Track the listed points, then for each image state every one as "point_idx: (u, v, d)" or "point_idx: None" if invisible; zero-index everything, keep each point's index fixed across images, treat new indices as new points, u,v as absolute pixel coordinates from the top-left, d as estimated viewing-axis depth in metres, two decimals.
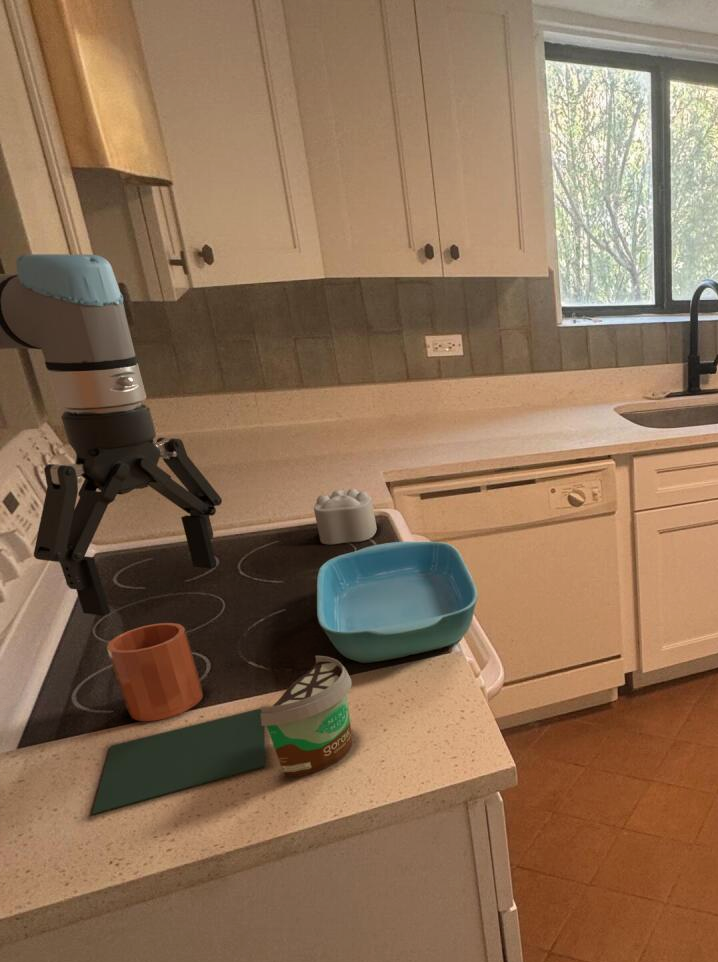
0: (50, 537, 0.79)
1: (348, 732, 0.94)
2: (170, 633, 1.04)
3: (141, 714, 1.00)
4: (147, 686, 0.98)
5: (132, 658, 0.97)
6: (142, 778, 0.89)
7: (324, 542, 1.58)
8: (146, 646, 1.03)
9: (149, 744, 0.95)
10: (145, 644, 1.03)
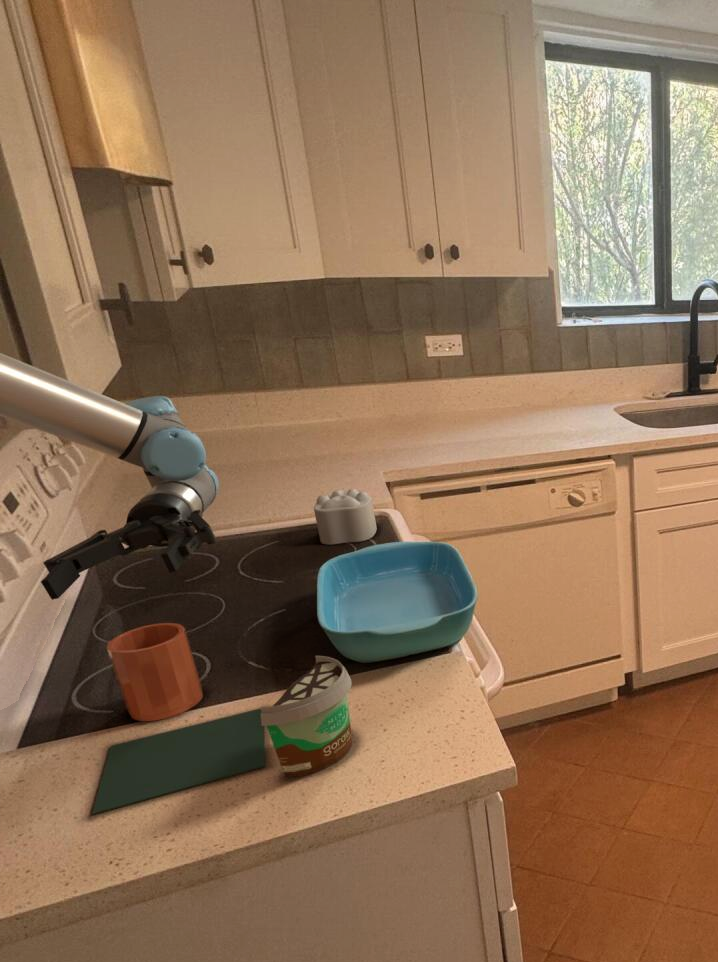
0: None
1: (348, 732, 0.94)
2: (170, 633, 1.04)
3: (141, 714, 1.00)
4: (147, 686, 0.98)
5: (132, 658, 0.97)
6: (142, 778, 0.89)
7: (324, 542, 1.58)
8: (146, 646, 1.03)
9: (149, 744, 0.95)
10: (145, 644, 1.03)
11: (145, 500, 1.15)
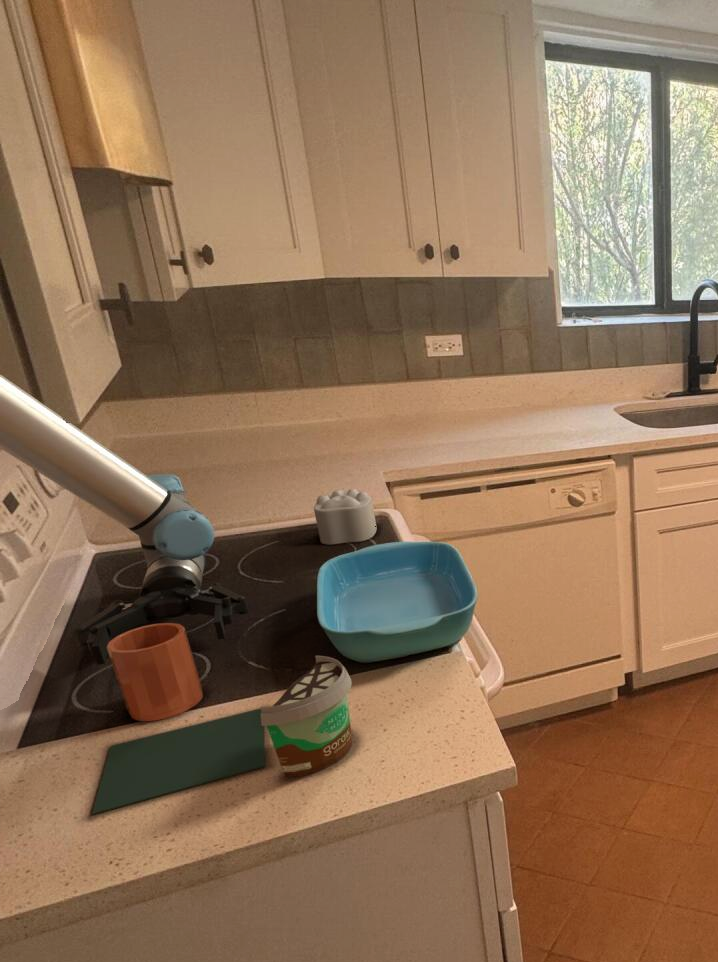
0: None
1: (348, 732, 0.94)
2: (170, 633, 1.04)
3: (141, 714, 1.00)
4: (147, 686, 0.98)
5: (132, 658, 0.97)
6: (142, 778, 0.89)
7: (324, 542, 1.58)
8: (146, 646, 1.03)
9: (149, 744, 0.95)
10: (145, 644, 1.03)
11: (163, 572, 1.20)
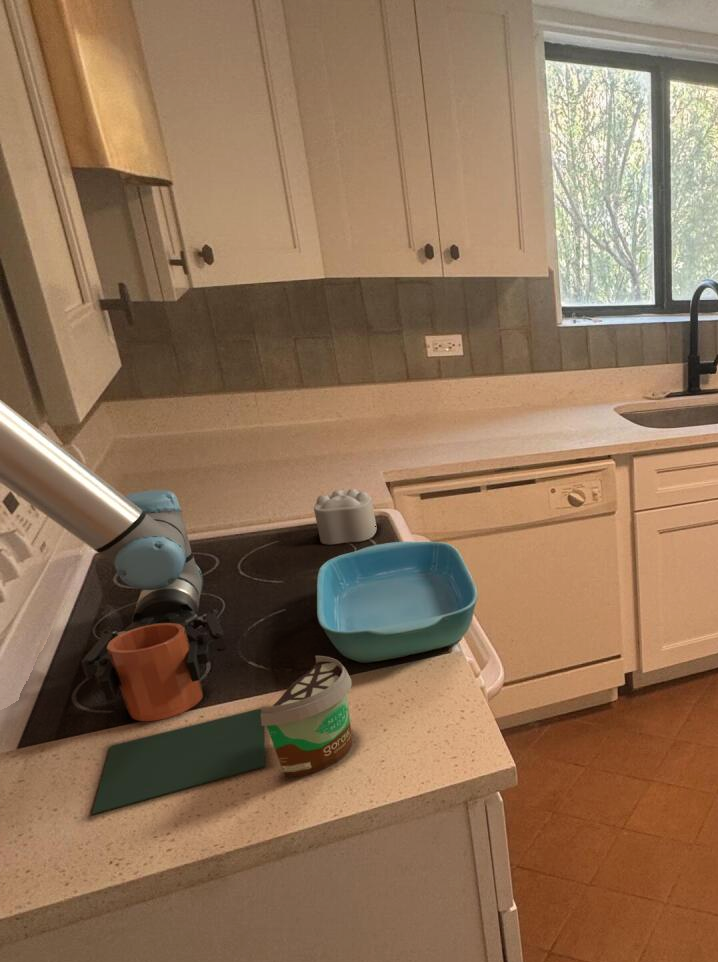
0: None
1: (348, 732, 0.94)
2: (170, 633, 1.04)
3: (141, 714, 1.00)
4: (147, 686, 0.98)
5: (132, 658, 0.97)
6: (142, 778, 0.89)
7: (324, 542, 1.58)
8: (146, 646, 1.03)
9: (149, 744, 0.95)
10: (145, 644, 1.03)
11: (157, 596, 1.12)
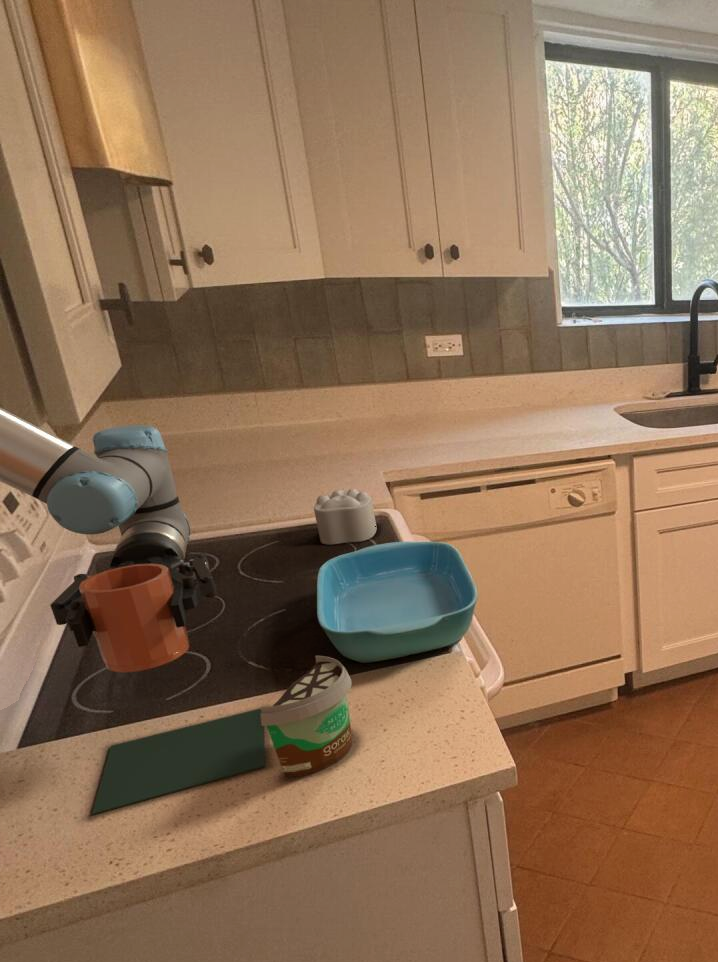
0: None
1: (348, 732, 0.94)
2: (152, 575, 0.92)
3: (119, 664, 0.88)
4: (125, 632, 0.87)
5: (108, 599, 0.85)
6: (142, 778, 0.89)
7: (324, 542, 1.58)
8: None
9: (149, 744, 0.95)
10: (123, 588, 0.91)
11: (138, 539, 1.00)
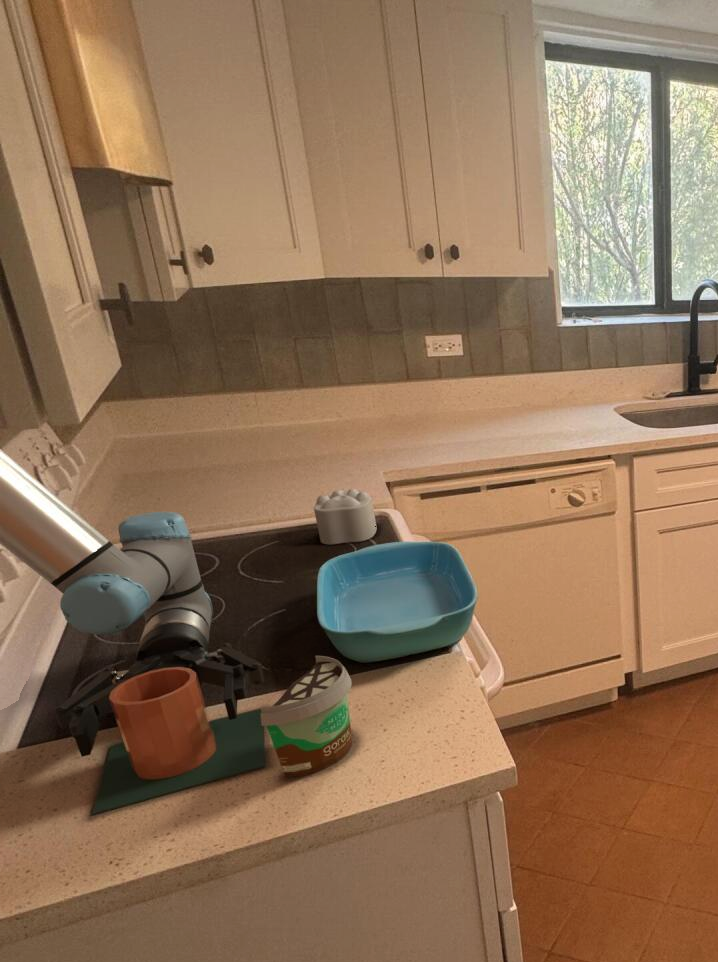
0: None
1: (348, 732, 0.94)
2: (180, 678, 0.93)
3: (148, 772, 0.88)
4: (154, 741, 0.87)
5: (138, 710, 0.86)
6: (142, 778, 0.89)
7: (324, 542, 1.58)
8: (153, 693, 0.92)
9: None
10: (151, 692, 0.92)
11: (163, 632, 1.01)
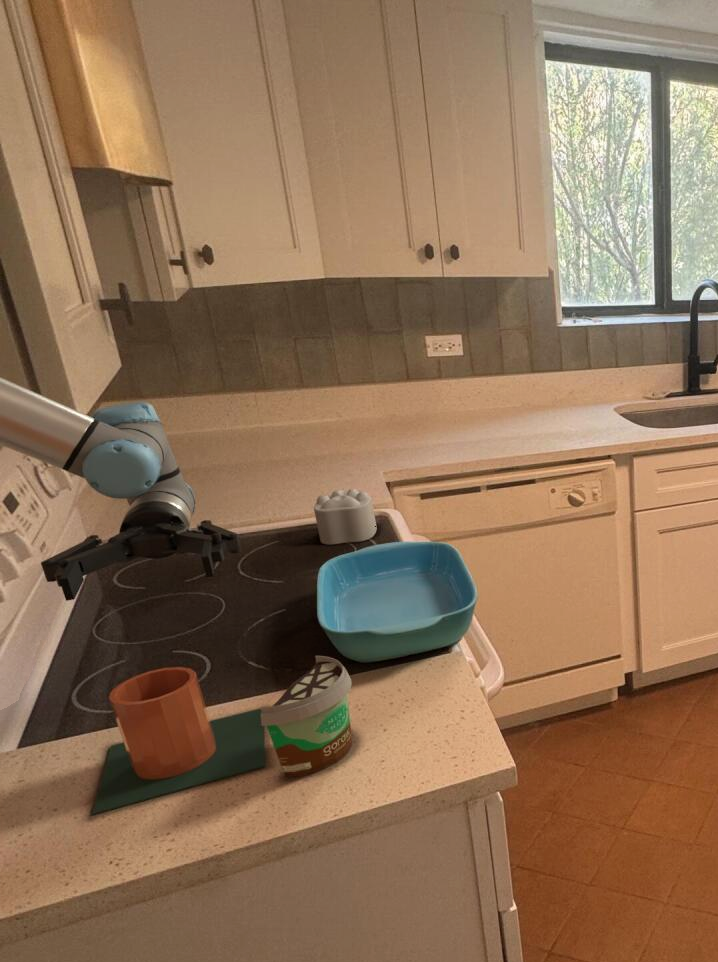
0: None
1: (348, 732, 0.94)
2: (180, 678, 0.93)
3: (148, 772, 0.88)
4: (154, 741, 0.87)
5: (138, 710, 0.86)
6: (142, 778, 0.89)
7: (324, 542, 1.58)
8: (153, 693, 0.92)
9: None
10: (151, 692, 0.92)
11: (146, 506, 1.07)
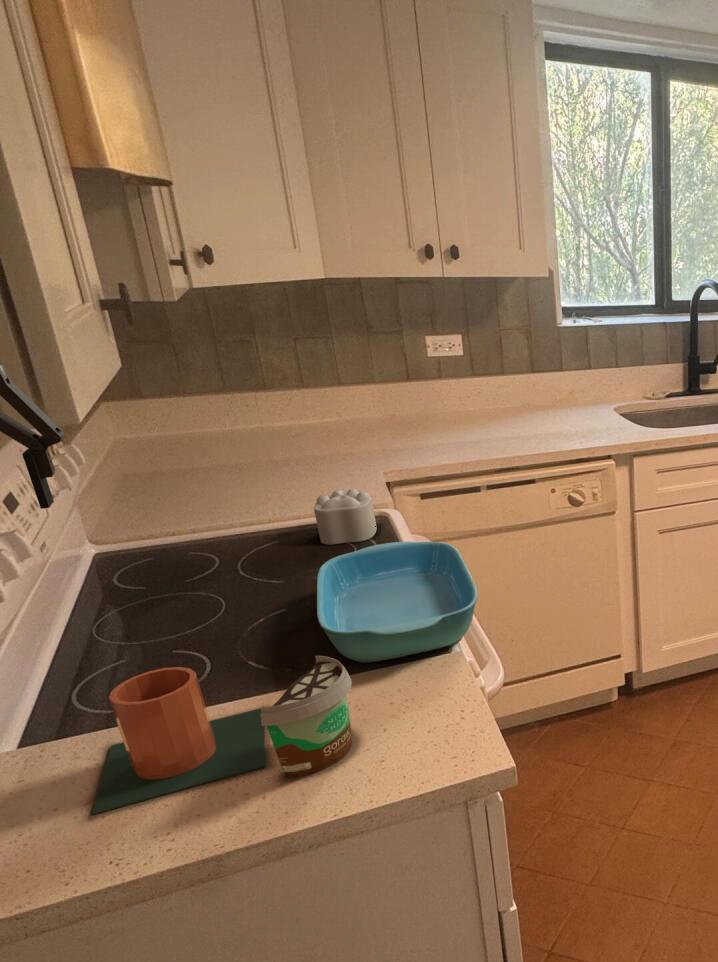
0: None
1: (348, 732, 0.94)
2: (180, 678, 0.93)
3: (148, 772, 0.88)
4: (154, 741, 0.87)
5: (138, 710, 0.86)
6: (142, 778, 0.89)
7: (324, 542, 1.58)
8: (153, 693, 0.92)
9: None
10: (151, 692, 0.92)
11: None
